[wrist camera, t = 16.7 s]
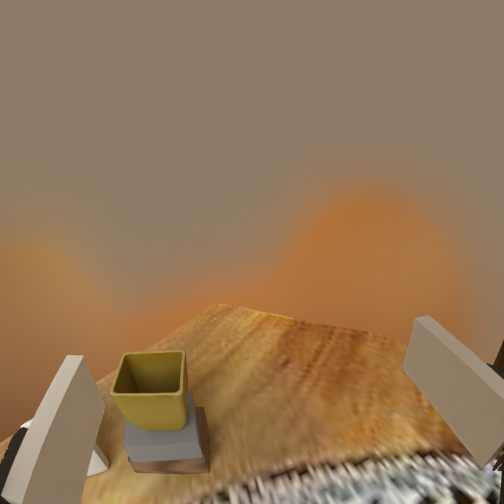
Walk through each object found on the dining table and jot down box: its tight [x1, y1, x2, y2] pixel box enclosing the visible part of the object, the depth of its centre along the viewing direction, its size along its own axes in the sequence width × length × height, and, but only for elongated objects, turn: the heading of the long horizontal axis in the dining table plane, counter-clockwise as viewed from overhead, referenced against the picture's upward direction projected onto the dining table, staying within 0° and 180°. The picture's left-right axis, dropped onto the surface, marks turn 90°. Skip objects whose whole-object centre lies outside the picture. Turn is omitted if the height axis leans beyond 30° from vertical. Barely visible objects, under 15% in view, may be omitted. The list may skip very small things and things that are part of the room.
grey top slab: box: [123, 392, 203, 462], centre depth 36 cm, size 10×10×4 cm
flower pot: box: [110, 350, 188, 431], centre depth 34 cm, size 9×9×9 cm
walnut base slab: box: [128, 407, 209, 474], centre depth 37 cm, size 11×11×4 cm
